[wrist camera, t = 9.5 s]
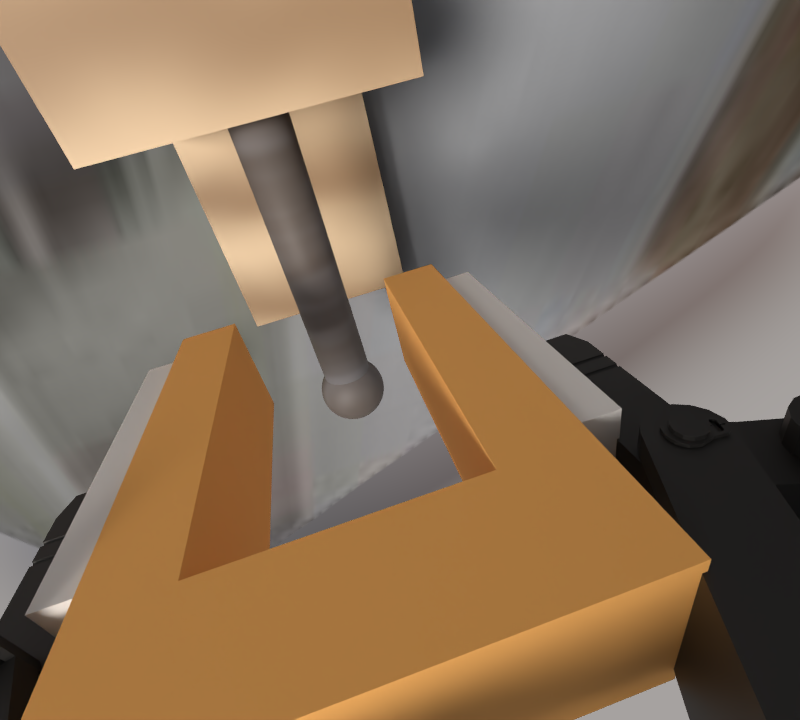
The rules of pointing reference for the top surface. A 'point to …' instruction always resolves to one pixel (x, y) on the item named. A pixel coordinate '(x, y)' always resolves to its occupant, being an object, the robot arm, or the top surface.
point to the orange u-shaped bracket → (375, 559)
